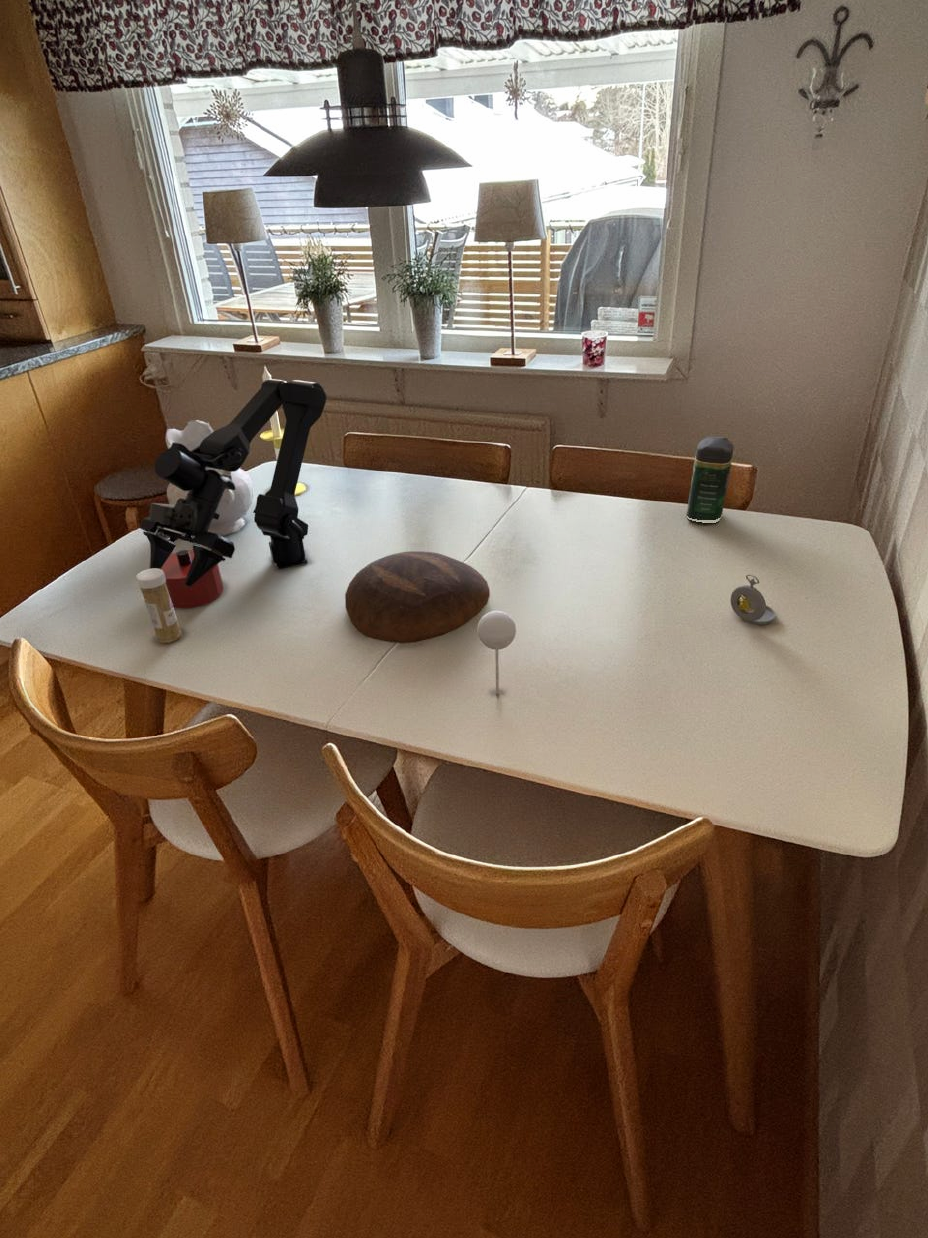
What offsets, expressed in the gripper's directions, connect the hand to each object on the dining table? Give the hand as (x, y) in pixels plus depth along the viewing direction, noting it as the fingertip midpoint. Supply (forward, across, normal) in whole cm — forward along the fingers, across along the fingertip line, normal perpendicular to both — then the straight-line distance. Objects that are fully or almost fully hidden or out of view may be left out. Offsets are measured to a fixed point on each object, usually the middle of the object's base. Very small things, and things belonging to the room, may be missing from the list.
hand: (169, 580), depth 130 cm
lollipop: (+1, +62, +14) cm, 63 cm away
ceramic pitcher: (-18, -27, +33) cm, 46 cm away
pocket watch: (-28, +93, +42) cm, 106 cm away
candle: (-36, -28, +50) cm, 68 cm away
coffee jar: (-56, +74, +70) cm, 117 cm away
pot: (0, -8, +15) cm, 17 cm away
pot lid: (-5, -8, +10) cm, 14 cm away
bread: (-11, +36, +26) cm, 45 cm away
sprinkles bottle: (+10, 0, +5) cm, 11 cm away
